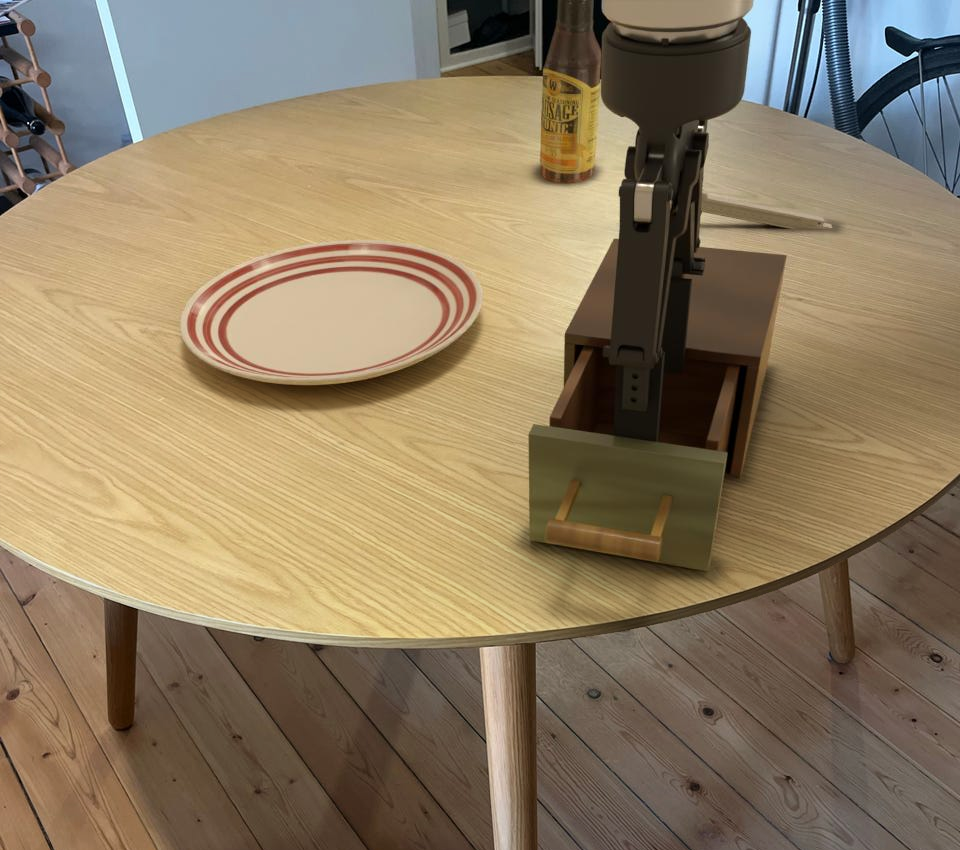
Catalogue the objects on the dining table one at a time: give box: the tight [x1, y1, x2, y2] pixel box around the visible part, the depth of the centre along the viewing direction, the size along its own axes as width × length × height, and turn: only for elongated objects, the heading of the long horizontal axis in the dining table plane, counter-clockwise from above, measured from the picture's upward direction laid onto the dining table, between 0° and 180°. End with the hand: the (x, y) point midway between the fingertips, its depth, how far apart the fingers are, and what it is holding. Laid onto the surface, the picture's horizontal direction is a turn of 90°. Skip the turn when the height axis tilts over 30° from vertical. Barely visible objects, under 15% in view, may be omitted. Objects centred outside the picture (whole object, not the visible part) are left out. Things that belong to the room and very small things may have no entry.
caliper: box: [701, 188, 833, 230], centre depth 104 cm, size 20×1×6 cm, turn 83°
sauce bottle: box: [539, 0, 602, 184], centre depth 110 cm, size 6×6×20 cm
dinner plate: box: [179, 239, 484, 386], centre depth 93 cm, size 28×27×3 cm
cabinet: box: [563, 237, 788, 479], centre depth 79 cm, size 16×14×11 cm
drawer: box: [527, 345, 743, 572], centre depth 69 cm, size 20×12×9 cm, turn 162°
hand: (650, 404), depth 68 cm, fingers open, 9 cm apart
